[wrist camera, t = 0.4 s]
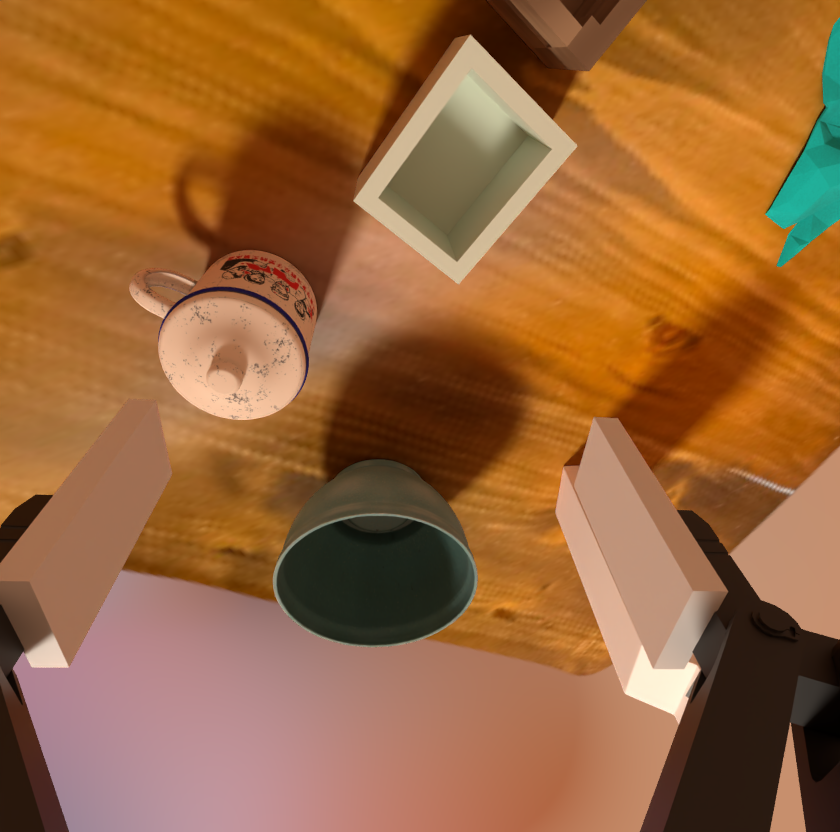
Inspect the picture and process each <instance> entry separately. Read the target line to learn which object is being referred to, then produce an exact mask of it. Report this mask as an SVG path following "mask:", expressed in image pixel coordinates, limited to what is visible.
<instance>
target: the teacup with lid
mask: <svg viewBox="0 0 840 832" xmlns="http://www.w3.org/2000/svg"><path fill="white" fill-rule="evenodd" d="M152 286H159V287H166V288H170V289H173V290H175V291H178V292H180V293H182V294H184V295H186V296H185V297H183V298H182V299H180V300H179V301H178V302H177V303H174V302H172V301H170V300H168V299H166V298H164V297H162V296H161V295H159V294H157V293H156V292H154V291H153V290H152V289H150V288H149V287H152ZM129 289H130V293H131V295H132V297H133V298H134V299H135V300H136V302H137V303H139V304H140V305H141V306H142V307H143V308H145V309H146V310H148V311H150V312H152V313H154V314H155V315H157V316H160V317H162V318H164V320H163V322H162V324H161V327H160V331H159V337H158V351H159V357H160V361H161V365H162V367H163V370H164V372H165V374H166V376H167V378H168V379H169V381H170V382H171V384H172V385H173V387H174V388H175V389H176V390H177V391H178V392H179V393H180V394H181V395H182V396H183V397H184V398H185V399H186V400H187V401H189V402H190V403H192V404H193V405H194V406H196V407H198V408H200V409H201V410H203V411H205V412H208V413H210V414H213V415H216V416H219V417H223V418H228V419H237V420H248V419H256V418H261V417H265V416H268V415H270V414H273V413H275V412H277V411H279V410H280V409H282V408H283V407H285V406H286V405H287V404H289V403H290V402H291V401H292V400H293V399H294V398H295V397H296V396H297V395H298V393H299V392H300V390H301V389H302V387H303V385H304V383H305V380H306V377H307V373H308V367H309V357H308V353H309V349H310V345H311V341H312V337H313V332H314V328H315V324H316V319H317V305H316V300H315V296H314V293H313V291H312V288H311V286H310V284H309V283H308V281H307V280H306V278H305V277H304V276H303V275H302V273H301V272H300V271H299V270H298V269H297V268H296V267H294V266H293V265H292V264H291V263H289V262H288V261H286V260H284V259H283V258H281V257H279V256H276V255H274V254H271V253H268V252H264V251H257V250H243V251H237V252H233V253H230V254H228V255H225V256H224V257H222V258H220V259H219V260H217V261H216V262H215V263H214V264H212V265H211V267H210V268H209V269H208V270H207V271H206V272H205V274H204V275H203V276H202V277H201V279H200V280H199V281H195V280H193V279H191V278H189V277H187V276H185V275H183V274H180V273H178V272H175V271H171V270H167V269H160V268H150V269H144V270H141V271H139V272H137V273H136V274H135V275H134V276H133V278H132V281H131V283H130V288H129Z"/></svg>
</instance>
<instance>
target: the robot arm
mask: <svg viewBox="0 0 840 832" xmlns="http://www.w3.org/2000/svg"><path fill="white" fill-rule="evenodd" d="M171 475H172V471H171V466H170V462H169V457H168V452H167V448H166V443H165V439H164V434H163V430H162V425H161V420H160V416H159V411H158V407H157V402H156V400H144V399H128V401H127V402H126V403H125V404H124V406H123V407H122V408H121V410H120V411H119V412H118V413H117V415H116V416H115V417H114V418H113V420H112V421H111V422H110V424H109V425H108V426H107V427H106V429H105V430H104V431H103V433H102V434H101V435H100V436H99V438H98V439H97V440H96V442H95V443H94V444H93V445H92V447H91V448H90V449H89V450H88V452H87V453H86V454H85V456H84V457H83V458H82V459H81V461H80V462H79V463H78V465H77V466H76V467H75V468H74V470H73V471H72V472H71V473H70V475H69V476H68V477H67V479H66V480H65V481H64V482H63V484H62V485H61V486H60V488H59V489H58V490H57V491H56V493H55V494H54V495H35V496H33V497H32V498H30V499H29V500H27V501H26V502H24V503H23V504H21V505H20V506H18V507H17V508H15V509H14V510H13V512H12V513H11V514H10V515H9V516H8V517H7V519H6V520H5V521H4V522H3V523H2V525H1V528H0V832H69V830H68V827H67V824H66V821H65V818H64V815H63V812H62V809H61V806H60V803H59V800H58V797H57V795H56V791H55V788H54V785H53V782H52V779H51V776H50V773H49V771H48V767H47V765H46V762H45V759H44V756H43V753H42V750H41V747H40V744H39V741H38V738H37V735H36V732H35V729H34V726H33V723H32V720H31V717H30V714H29V711H28V708H27V705H26V702H25V699H24V696H23V693H22V690H21V687H20V684H19V681H18V678H17V675H16V674H15V672H14V670H13V667H14V665H15V664H16V662H17V660H18V659H19V657H20V656H21V654H22V652H23V651H24V653H25V655H26V657H27V659H28V661H29V663H30V665H31V667H69V666H70V665H71V663H72V661H73V659H74V657H75V655H76V653H77V651H78V650H79V648H80V646H81V644H82V642H83V640H84V638H85V636H86V635H87V633H88V631H89V629H90V627H91V625H92V623H93V621H94V619H95V618H96V616H97V614H98V612H99V610H100V608H101V606H102V605H103V603H104V601H105V599H106V597H107V595H108V593H109V592H110V590H111V588H112V586H113V584H114V582H115V580H116V578H117V577H118V575H119V573H120V571H121V569H122V567H123V565H124V563H125V562H126V560H127V558H128V556H129V554H130V552H131V550H132V548H133V547H134V545H135V543H136V541H137V539H138V537H139V535H140V533H141V532H142V530H143V528H144V526H145V524H146V522H147V520H148V518H149V517H150V515H151V513H152V511H153V509H154V507H155V505H156V503H157V502H158V500H159V498H160V496H161V494H162V492H163V490H164V488H165V487H166V485H167V483H168V481H169V479H170V477H171ZM574 487H575V490H576V492H577V494H578V497H579V499H580V501H581V503H582V506H583V508H584V510H585V513H586V515H587V517H588V520H589V522H590V524H591V527H592V529H593V531H594V534H595V536H596V538H597V541H598V543H599V545H600V548H601V550H602V552H603V555H604V557H605V559H606V562H607V564H608V566H609V568H610V571H611V573H612V575H613V578H614V580H615V582H616V585H617V587H618V589H619V592H620V594H621V596H622V599H623V601H624V603H625V606H626V608H627V610H628V613H629V615H630V617H631V620H632V622H633V624H634V626H635V629H636V631H637V633H638V636H639V638H640V640H641V643H642V645H643V647H644V650H645V652H646V654H647V657H648V659H649V661H650V664H651V666H652V668H653V669H685V667H686V665H687V663H688V662H689V660H690V658H691V656H692V655H693V654H694V656H695V658H696V660H697V662H698V664H699V666H700V668H701V670H700V672H699V674H698V675H697V677H696V679H695V680H694V682H693V684H692V685H691V687H690V689H689V690H688V692H687V694H686V695H685V696H686V697H688V698H689V699H688V701H687V704H686V707H685V710H684V712H683V715H682V718H681V721H680V723H679V726H678V729H677V732H676V734H675V737H674V740H673V743H672V745H671V749H670V751H669V754H668V756H667V759H666V762H665V765H664V767H663V770H662V773H661V776H660V779H659V781H658V784H657V787H656V789H655V792H654V795H653V798H652V800H651V803H650V806H649V809H648V811H647V814H646V817H645V819H644V822H643V825H642V828H641V830H640V832H770V827H771V821H772V816H773V811H774V805H775V800H776V794H777V788H778V783H779V778H780V773H781V768H782V762H783V757H784V751H785V746H786V741H787V735H788V730H789V725H790V722H791V726H792V733H793V740H794V748H795V755H796V762H797V769H798V777H799V783H800V790H801V798H802V805H803V812H804V819H805V826H806V832H840V640H838V639H834V638H831V637H827V636H824V635H820V634H816V633H813V632H809V631H806V630H803V629H801V628H800V626H799V625H798V623H797V622H796V621H795V620H794V619H793V618H792V617H791V616H790V615H789V614H788V613H786V612H785V611H783V610H782V609H780V608H778V607H777V606H775V605H772V604H770V603H767V602H765V601H761V600H760V598H759V597H758V595H757V594H756V592H755V591H754V589H753V588H752V587H751V585H750V584H749V582H748V581H747V579H746V578H745V577H744V575H743V573H742V572H741V571H740V569H739V568H738V566H737V565H736V563H735V562H734V560H733V559H732V557H731V556H730V555H728V552H727V550H726V549H725V547H724V546H723V544H722V543H720V542H719V539H718V537H717V536H716V534H715V533H714V531H713V530H712V528H711V527H710V525H709V524H708V523H706V522H705V521H704V520H703V519H702V518H700V517H699V516H698V515H697V514H696V513H694V512H693V511H689V510H676V509H675V507H674V505H673V504H672V502H671V501H670V499H669V498H668V496H667V494H666V493H665V491H664V490H663V488H662V487H661V485H660V483H659V482H658V480H657V479H656V477H655V476H654V474H653V473H652V471H651V469H650V468H649V466H648V465H647V463H646V462H645V460H644V458H643V457H642V455H641V454H640V452H639V451H638V449H637V447H636V446H635V444H634V443H633V441H632V440H631V438H630V436H629V435H628V433H627V432H626V430H625V429H624V427H623V425H622V424H621V422H620V421H619V419H618V418H602V417H594V419H593V422H592V426H591V429H590V432H589V436H588V439H587V443H586V446H585V449H584V453H583V456H582V460H581V463H580V467H579V470H578V473H577V477H576V480H575V484H574Z"/></svg>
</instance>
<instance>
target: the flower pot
mask: <svg viewBox="0 0 840 832" xmlns="http://www.w3.org/2000/svg"><path fill="white" fill-rule="evenodd" d="M477 581H478V576H477V568H476V564H475V561H474V558H473V555H472V553H471V551H470V549H469V547H468V543H467V540H466V537H465V534H464V531H463V529H462V526H461V524H460V522H459V520H458V518H457V517H456V515H455V513H454V512H453V510H452V509H451V507H450V506H449V504H448V503H447V502H446V501H445V499H444V498H443V497H442V496H441V495H440V494H439V493H438V492H437V491H436V490H435V489H434V488H433V487H432V486H430V485H429V484H428V483H426V482H425V481H423V480H422V479H421V477H420V476H419V475H418V474H417V473H416V472H415V471H414V470H412V469H411V468H409V467H407V466H406V465H404V464H401V463H398V462H395V461H391V460H384V459H374V460H366V461H361V462H358V463H355V464H353V465H350V466H348V467H347V468H345V469H344V470H342V471H341V472H340V473H339V474H338V475H337V476H336V477H335V478H334V479H333V480H331V481H330V482H328V483H327V484H325V485H324V486H323V487H322V488H320V489H319V490H318V491H317V492H316V493H315V494H314V495H313V496H312V497H311V498H310V499H309V500H308V501H307V503H306V504H305V505H304V506H303V508H302V509H301V511H300V512H299V514H298V515H297V517H296V519H295V520H294V522H293V524H292V526H291V528H290V530H289V533H288V535H287V538H286V541H285V544H284V547H283V550H282V552H281V554H280V556H279V558H278V560H277V564H276V567H275V571H274V575H273V588H274V592H275V596H276V599H277V601H278V603H279V605H280V606H281V608H282V609H283V610H284V612H285V613H286V614H287V615H288V616H289V617H290V618H291V619H292V620H293V621H294V622H295V623H297V624H298V625H299V626H300V627H302V628H303V629H305V630H306V631H308V632H310V633H312V634H314V635H316V636H318V637H321V638H323V639H326V640H329V641H333V642H336V643H340V644H344V645H350V646H359V647H384V646H395V645H402V644H407V643H410V642H415V641H418V640H421V639H424V638H426V637H429V636H431V635H433V634H435V633H437V632H439V631H441V630H443V629H444V628H446V627H447V626H449V625H450V624H452V623H453V622H454V621H456V620H457V619H458V618H459V617H460V616H461V615H462V614H463V613H464V612H465V610H466V609H467V608H468V606H469V605H470V604H471V602H472V600H473V598H474V595H475V592H476V589H477Z"/></svg>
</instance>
